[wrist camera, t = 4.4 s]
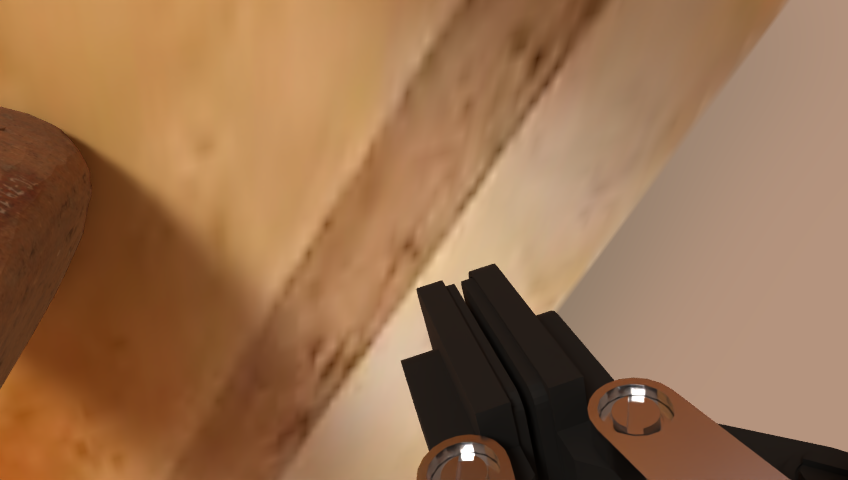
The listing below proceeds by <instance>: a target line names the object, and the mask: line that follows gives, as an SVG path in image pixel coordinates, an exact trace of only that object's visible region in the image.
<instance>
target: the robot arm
mask: <svg viewBox="0 0 848 480" xmlns="http://www.w3.org/2000/svg"><path fill="white" fill-rule="evenodd" d="M461 285H462V290H463V294H464V299H465V301H464V299H463V298H462V296H461V294H460V293H459V291H458V289H457V288H456V286H455V285H454V284H452V285H449V286H445V284H444V283H443V281H438V282H435V283H432V284H429V285H426V286H423V287H420V288H417V294H418V298H419V302H420V305H421V309H422V313H423V316H424V320H425V324H426V327H427V331H428V334H429V338H430V342H431V345H432V349H433V350H431V351H428V352H425V353H422V354H419V355H416V356H413V357H410V358H407V359H404V360H401V363H402V367H403V370H404V373H405V377H406V380H407V383H408V386H409V390H410V393H411V396H412V399H413V403H414V406H415V409H416V412H417V415H418V418H419V422H420V425H421V428H422V431H423V434H424V437H425V440H426V443H427V446H428V449H429V452H428V453H427V454H426V456H425V457H424V458H423V460H422V462H421V464H420V466H419V468H418V472H417V480H848V452H844V451H841V450H838V449H835V448H831V447H827V446H822V445H817V444H813V443H808V442H803V441H798V440H793V439H789V438H784V437H779V436H774V435H770V434H765V433H760V432H755V431H751V430H746V429H741V428H736V427H731V426H727V425H722V424H717V423H715V422H714V421H713V420H711V419H710V418H709V417H707V416H706V415H705V414H703V413H702V412H701V411H700V410H698V409H697V408H696V407H695V406H693V405H692V404H691V403H689V402H688V401H687V400H685V399H684V398H683V397H681V396H680V395H679V394H677V393H676V392H675V391H674V390H672V389H670V388H669V387H667V386H665V385H663V384H661V383H659V382H656V381H652V380H649V379H642V378H626V379H618V380H615V381H614V379H612V377H611V376H610V375H609V374H608V372H607V371H606V370H605V369H604V368H603V367H602V365H601V364H600V363H599V362H598V361H597V360H596V359H595V357H594V356H593V355H592V354H591V353H590V351H589V350H588V349H587V348H586V347H585V345H584V344H583V343H582V342H581V341H580V340H579V338H578V337H577V336H576V335H575V334H574V333H573V331H572V330H571V329H570V328H569V327H568V326H567V324H566V323H565V322H564V321H563V320H562V319H561V317H560V316H559V315H558V314H557V313H556V312H555V311H548V312H545V313H542V314H539V315H535V314H534V313H533V312H532V310H531V309H530V308H529V306H528V305H527V304H526V303H525V301H524V300H523V299H522V297H521V296H520V295H519V294H518V292H517V291H516V290H515V288H514V287H513V286H512V285H511V283H510V282H509V281H508V280H507V278H506V277H505V276H504V274H503V273H502V272H501V271H500V269H499V268H498V267H497V266H496V265H495V264H491V265H488V266H485V267H482V268H479V269H476V270H473V271H469V279H467V280H464V281H461Z"/></svg>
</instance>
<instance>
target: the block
mask: <svg viewBox="0 0 848 480" xmlns="http://www.w3.org/2000/svg"><path fill="white" fill-rule="evenodd" d="M91 193H92V185H91V183H90V172H89V169H88V167H87V165H86V162H85V160H84V158H83V157H82V155H81V153H80V151H79V150H78V148H77V147H76V146H75V145H74V144H73V142H72V141H71V140H70V139H69V138H68V136H67V135H66V134H65V133H64V132H63V131H62V130H61V129H59V128H57V127H56V126H54V125H52V124H50V123H48V122H45V121H43V120H41V119H39V118H36V117H34V116H32V115H30V114H27V113H23V112H19V111H15V110H11V109H7V108H3V107H0V388H1V387H2V385H3V384H4V382H5V380H6V378H7V377H8V375H9V373H10V372H11V370H12V368H13V367H14V365H15V363H16V362H17V360H18V358H19V356H20V355H21V353H22V351H23V349H24V348H25V346H26V345H27V343H28V341H29V340H30V338H31V336H32V334H33V333H34V331H35V329H36V327H37V326H38V324H39V322H40V321H41V319H42V317H43V315H44V313H45V311H46V310H47V308H48V306H49V304H50V302H51V301H52V299H53V297H54V295H55V293H56V291H57V289H58V287H59V285H60V283H61V281H62V279H63V277H64V275H65V273H66V271H67V269H68V267H69V264H70V262H71V259H72V257H73V255H74V253H75V251H76V249H77V246H78V244H79V242H80V239H81V237H82V234H83V232H84V224H85V219H86V215H87V210H88V204H89V201H90V199H91Z"/></svg>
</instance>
